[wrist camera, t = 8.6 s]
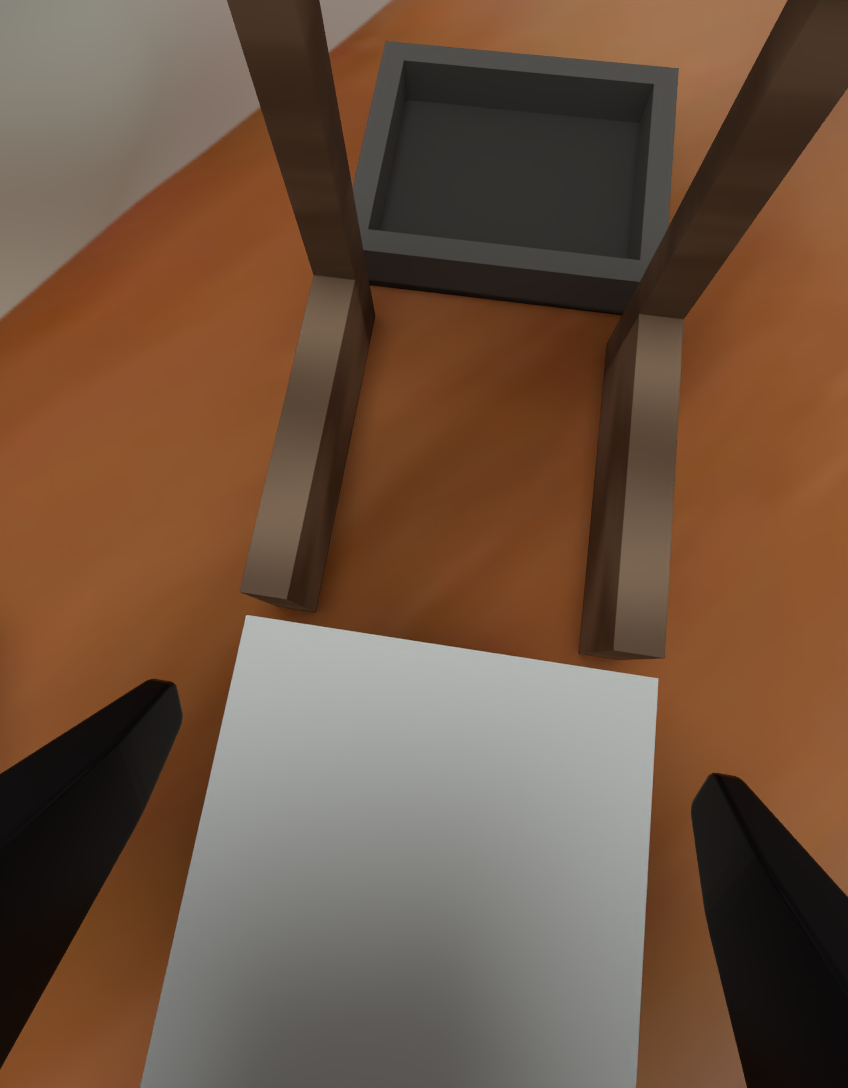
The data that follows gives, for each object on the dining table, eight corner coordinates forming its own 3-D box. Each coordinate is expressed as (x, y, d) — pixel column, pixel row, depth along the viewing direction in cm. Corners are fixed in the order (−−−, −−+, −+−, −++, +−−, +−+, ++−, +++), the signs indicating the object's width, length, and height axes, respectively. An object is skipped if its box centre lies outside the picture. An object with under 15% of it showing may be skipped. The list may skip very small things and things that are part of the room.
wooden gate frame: (619, 659, 20) (1139, 639, 5) (277, 606, 20) (-121, 454, 6) (642, 348, 23) (1020, -237, 8) (341, 311, 23) (180, -285, 9)
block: (504, 853, 18) (629, 1202, 6) (329, 822, 18) (137, 1098, 7) (524, 671, 19) (658, 678, 8) (360, 646, 20) (246, 615, 8)
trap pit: (644, 317, 23) (664, 284, 21) (347, 281, 24) (339, 247, 22) (659, 114, 25) (678, 68, 23) (389, 88, 26) (385, 41, 24)
